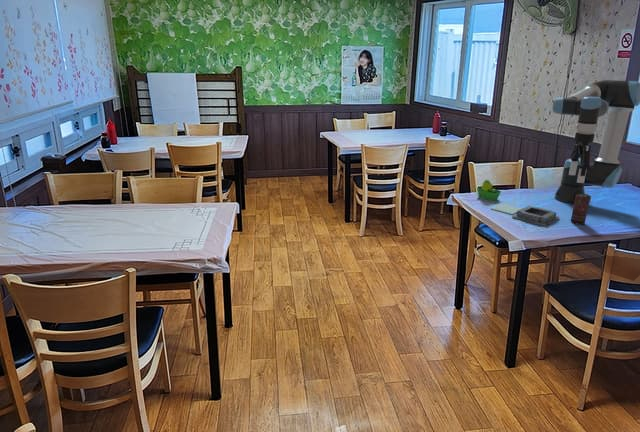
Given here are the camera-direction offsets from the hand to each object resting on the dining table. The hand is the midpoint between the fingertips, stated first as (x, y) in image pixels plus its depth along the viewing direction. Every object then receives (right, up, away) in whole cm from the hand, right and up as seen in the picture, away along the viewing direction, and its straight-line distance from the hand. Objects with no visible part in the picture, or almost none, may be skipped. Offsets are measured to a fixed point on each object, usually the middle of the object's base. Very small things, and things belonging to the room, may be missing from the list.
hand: (576, 178), depth 210 cm
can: (+7, -21, +10) cm, 24 cm away
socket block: (-11, -18, +15) cm, 26 cm away
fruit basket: (-24, -8, +46) cm, 53 cm away
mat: (-20, -14, +28) cm, 37 cm away
